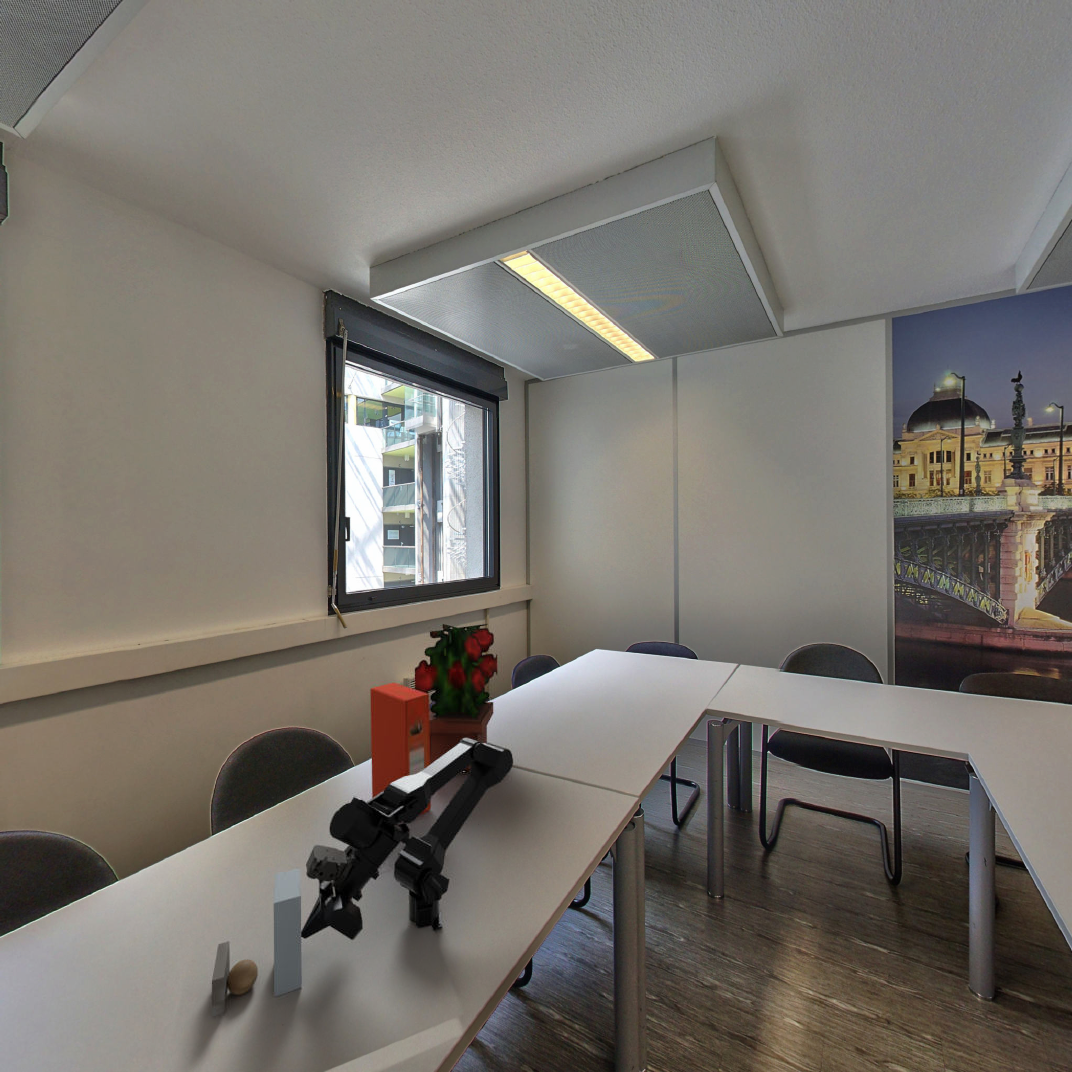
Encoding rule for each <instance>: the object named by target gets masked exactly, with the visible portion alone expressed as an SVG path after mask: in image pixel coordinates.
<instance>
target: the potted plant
mask: <svg viewBox="0 0 1072 1072" xmlns="http://www.w3.org/2000/svg"><path fill="white" fill-rule="evenodd" d="M487 625H488V623H485V624H484V623H482V624H477V625H469V626H462V627H457V626H453V625H448V624H446V623H445V624H444V623H442V629H439V630H438V629H437V630H431V631H429V637H430V638H431V639H438V638H439V639H438V640H437V641H436V642H435V645H434V646H428V647H426V649H424V653H423V654H424V655H425V657H429V663H428V661H427V660H426V659H421V660H420V661H419V663H418V666H416V667H414V689H415V690H418V691H421V692H424V693H427V694H429V692H431V691H434V692H433V693H431V694H430V696H429V700H431V702H435V703H433V704H432V705H431V706H430V708H429V729H430V765H431V764H432V763H433V762H435V761H436V760H437V759H439V758H440V757H441V756H443V755H444V754H446V753H447V752H448V751H450V750H451V749H452V748H454V747H455V746H456V745H458V744H459V742H460V741H461V740H462V739H463V738H471V739H474V740H477V741H480V742H481V743H482V744H483V743H488V724H489V722H490V720H491V718H492V717H493V715H494V701H488V699H489V698H490V695H491V694H490V693H489V691H486V685H487V684H488V683H489V682H490V679H491V678H493V677H494V674H495V675H498V654H496V655H495V656H494V654H493V653H487V652H488V651H489V650H490V647H491V646H493V645H494V641H495V636H494V633H493V632H490V629H489V628H488V627H485V626H487ZM481 627H482V628H481ZM445 632H446V633H445ZM483 653H486V654H483ZM470 766H471V765H469V766H468V767H467V768H466V769H464V770H463V771H465V772H463V771H462V772H461V773H470Z"/></svg>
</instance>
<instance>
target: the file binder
mask: <svg viewBox="0 0 1072 1072" xmlns="http://www.w3.org/2000/svg"><path fill="white" fill-rule="evenodd" d="M429 710H430V695H429V693H428V694H427V693H424V692H421V691H418V690H415V688H411V687H408V686H406V685H402V684H401V683H396V682H390V683H387V684H383V685H379V686H375V687H372V688H370V735H371V737H370V739H371V740H370V741H371V742H370V743H371V744H370V745H371V749H370V750H371V796H372V797H371V799H372V798H374V797H375V796H377V795H378V794H380V793H381V792H383V791H384V790H385V788H386V787H387V786H388V785H389V784H391V783H392V782H394V781H396V780H398V779H400V778H402V777H405V776H409V775H414V774H417V773H419V772H421V771H422V770H424V769H425V768H426V767H428V766H429V765H430V729H429ZM431 803H432V802H431V800H430V802H429V805H428V807H427V808H426V809H425V810H424V811H423V812H422V813H421V814H420V815H419V816H421V815H423V814H425V813H428V812H429V811H430V810H432V808H431V807H432V804H431ZM427 811H428V812H427Z"/></svg>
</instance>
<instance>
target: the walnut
mask: <svg viewBox="0 0 1072 1072" xmlns="http://www.w3.org/2000/svg"><path fill="white" fill-rule="evenodd" d="M258 975H259V970H258V966H257V964H256V962H255V961H254V960H252V959H243V960H240V961H238V962H237V963H236V964H234V965H233V966H232V968H231V969H230V973H229V975H228V978H227V987H228V991H229V992H230V993H231V994H233V995H235V996H236V995H238V996H239V995H243V994H245V993H247V992H249V990H251V989H252V987H253V986H254V985H255V983H256V981H257V979H258Z"/></svg>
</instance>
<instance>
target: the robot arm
mask: <svg viewBox="0 0 1072 1072" xmlns="http://www.w3.org/2000/svg"><path fill="white" fill-rule="evenodd" d="M469 765H471V766H470V772H469V774H468V776H467V777H466V778H465V780H464V781H463V783H462V784H461V786H460V787H459V788H458V790H457V791H456V792H455V794H454V795H453V797H451V800H450V801H449V803H448V804H447V805H446V806H445V808H444V809H443V811H442V812H441V813H440V815H439V816H438V817H437V819H436V821H435V822H434V823H433V825H431V828H430V829H429V830H428V831H427V833H426V834H424V835H423V836H421V837H419V838H418V837H417V836H415V835H412V836H411V837H410V831H411V829H410V827H409V826H408V825H407V824H411V823H413V822H414V821H416V820H417V819H418V818H419V816H421V815H422V814H421V813H422V812H423V811H424V810H425V809H426V808H427V807H428V805H429V802H430V800H431V799H432V797H433V796H434V795H435V794H436V793H437V792H438V791H439V790H441V789H442V788H444V786H446V785H447V784H449V782H450V781H451V782H452V780H453V779H454V778H456V777H457V776H458V775H460V774H461V773H463V772H462V771H463V770H464V769H466V768H467V767H468V766H469ZM513 765H514V758H513V753H512V751H511V750H510V749H508V748H506V747H502V746H499V745H498V744H493V743H491V742H487V743H483V744H482V743H481V742H480V741H477V740H474V739H471V738H463V739H462V740H461V741H460V742H459V744H458V745H456V746H455V747H454V748H452V749H451V750H450V751H448V752H447V753H446V754H444V755H443V756H441V757H440V758H439V759H437V760H436V761H435V762H433V763H432V764H431V765H429V766H428V767H426V768H425V769H424V770H422V771H421V772H419V773H417V774H414V775H409V776H405V777H402V778H400V779H398V780H396V781H394V782H392V783H391V784H389V785H388V786H387V787H386V788H385V790H384V791H383V792H381V793H380V794H378V795H377V796H375V797H374V798H372V797H371V798H370V799H369V800H367V801H365V800H363V799H361V798H360V797H357V796H356V795H354V796H353V798H352V800H351V801H350V802H347V803H345V804H343V805H342V806H341V807H339V809H338V810H336V811H335V812H334V814H333V816H332V818H331V820H330V823H329V835H330V836H331V837H332V838H333V839H335V840H337V841H339V842H341V843H343V844H346V845H348V846H347V847H346V848H345V850H340V849H338V848H335V847H329V846H326V845H325V846H324V845H319V844H315V845H314V846H313V847H312V850H311V851H310V854H309V856H308V859H307V861H306V864H305V867H306V877H308V878H309V879H312V880H316V879H317V881H318V897H317V899H316V902H315V904H314V906H313V907H312V909H311V912H310V914H309V916H308V918H307V919H306V921H305V924H304V925H303V928H301V938H302V939H308V938H309V937H311V936H313V935H316V934H317V933H319V932H321V931H323V930H324V929H326V928H329V927H330V928H332V929H333V930H335V931H337V932H338V933H340V934H341V935H343V936H344V937H346V938H348V939H349V940H350V941H353V940H355V939H356V938H357V937H358V936H359V934H360V933H361V931H362V930H363V928H364V927H363V917H362V912H361V907H360V906H357V905H356V904H355V903H354V901H353V900H355V901H356V902H359V901H360V900H361V899H362V898H363V893H362V890H363V889H364V888H365V887H366V885H367V884H368V883H369V881H371V879H373V880H374V881H375V880H377V879H378V877H379V876H380V873H379V869H380V868H381V866H382V865H383V864H384V862H385V861H386V860H387V859H388V857H389V856H390V855H391V854H392V853H393V851H394V850H395V849H396V847H397V846H398V845H399V844H400V843H402V844H404V847H403V848H402V849H401V850H400V851H399V852H397V855H398V856H397V859H395V862H394V865H393V867H394V868H393V869H394V870H393V876H394V877H393V878H394V879H395V880H396V882H397V883H399V885H400V886H401V887H402V888H405V889H407V890H408V918H409V920H410V921H411V922H412V923H414V924H415V927H417V929H422V928H427V927H431V929H432V931H435V930H440V929H442V928H443V921H442V920H443V919H442V913H441V910H442V909H441V905H440V900H441V899H442V897H443V895H444V894H446V893H447V892H448V889H449V888H448V887H449V884H450V879H449V878H448V877H446V876H445V875H442V874H441V873H442V872H443V869H444V864H445V857H446V851H447V849H449V847H450V845H451V844H452V842H453V841H454V839H455V837H456V836H457V835H458V833H459V832H460V830H461V829H462V828H463V826H464V825H465V823H466V821H467V820H468V819H469V817H470V816H471V815H472V813H473V811H474V809H476V807H477V805H478V804H479V802H480V801H481V800H482V798H483V796H484V795H485V794H486V792H487V791H488V790H489V789H490V788H492V787H495V786H496V785H497V784H500V783H501V782H502V781H503V780H504V779H505V777H506V776H507V775H508V774H509V772H511V770H512V768H513ZM420 814H421V815H420Z"/></svg>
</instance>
